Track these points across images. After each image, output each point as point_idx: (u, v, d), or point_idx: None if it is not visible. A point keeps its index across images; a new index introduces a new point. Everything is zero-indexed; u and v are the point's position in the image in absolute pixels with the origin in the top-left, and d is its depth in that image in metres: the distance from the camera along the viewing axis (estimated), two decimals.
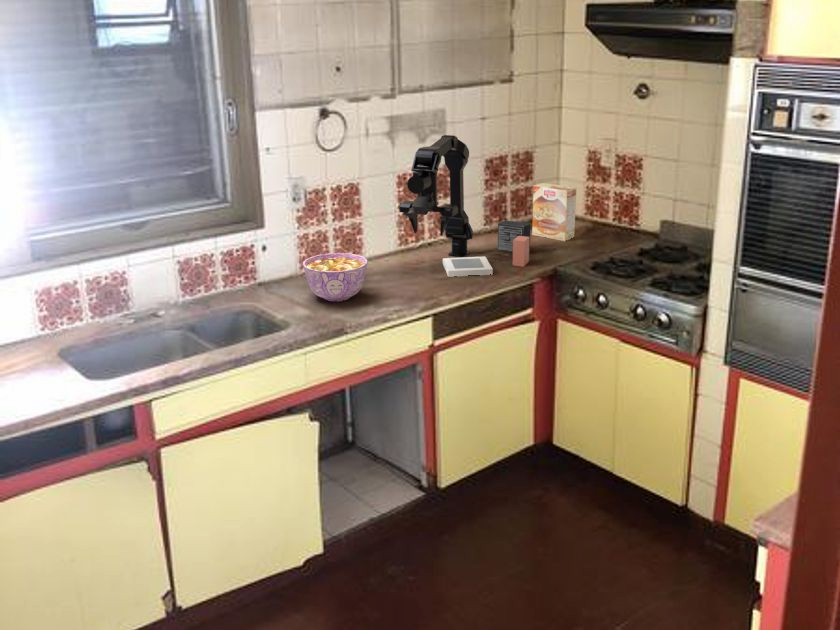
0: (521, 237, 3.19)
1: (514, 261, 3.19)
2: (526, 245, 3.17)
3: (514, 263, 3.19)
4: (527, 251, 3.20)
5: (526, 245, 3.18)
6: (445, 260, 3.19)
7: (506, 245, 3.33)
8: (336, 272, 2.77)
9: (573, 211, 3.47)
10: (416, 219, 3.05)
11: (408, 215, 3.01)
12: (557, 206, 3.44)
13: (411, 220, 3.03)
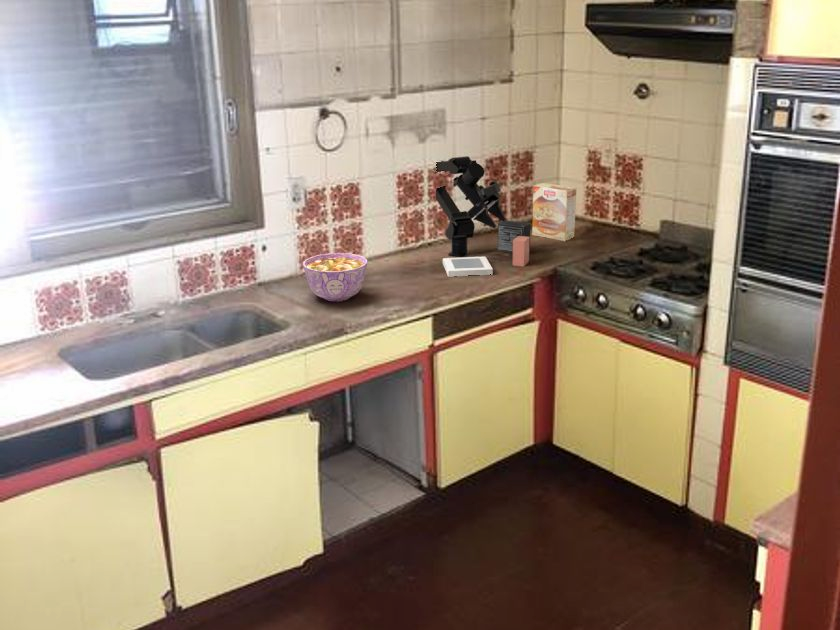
0: (521, 237, 3.19)
1: (514, 261, 3.19)
2: (526, 245, 3.17)
3: (514, 263, 3.19)
4: (527, 251, 3.20)
5: (526, 245, 3.18)
6: (445, 260, 3.19)
7: (506, 245, 3.33)
8: (336, 272, 2.77)
9: (573, 211, 3.47)
10: None
11: (486, 209, 3.13)
12: (557, 206, 3.44)
13: (488, 215, 3.14)
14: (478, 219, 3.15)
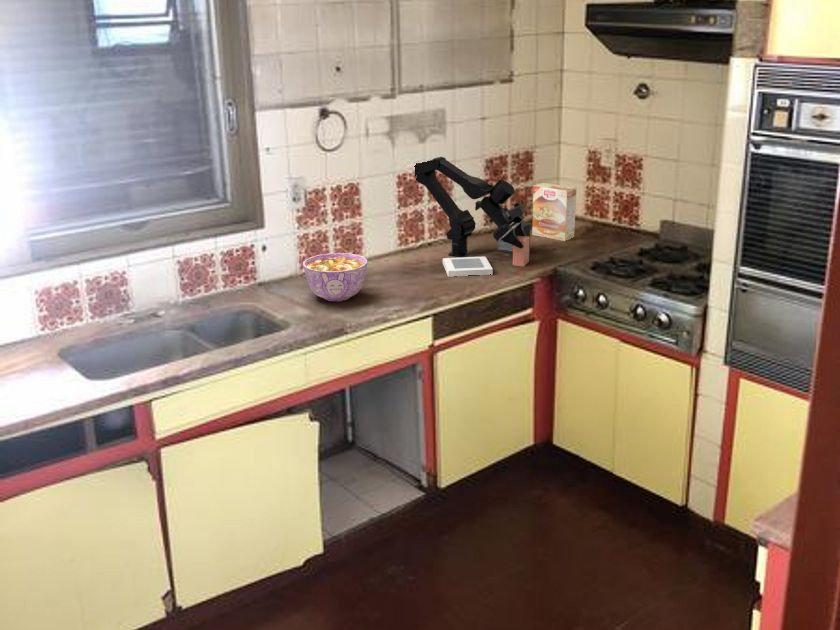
0: (521, 237, 3.19)
1: (514, 261, 3.19)
2: (526, 245, 3.17)
3: (514, 263, 3.19)
4: (527, 251, 3.20)
5: (526, 245, 3.18)
6: (445, 260, 3.19)
7: (506, 245, 3.33)
8: (336, 272, 2.77)
9: (573, 211, 3.47)
10: None
11: (514, 230, 3.13)
12: (557, 206, 3.44)
13: (515, 236, 3.14)
14: (505, 240, 3.15)
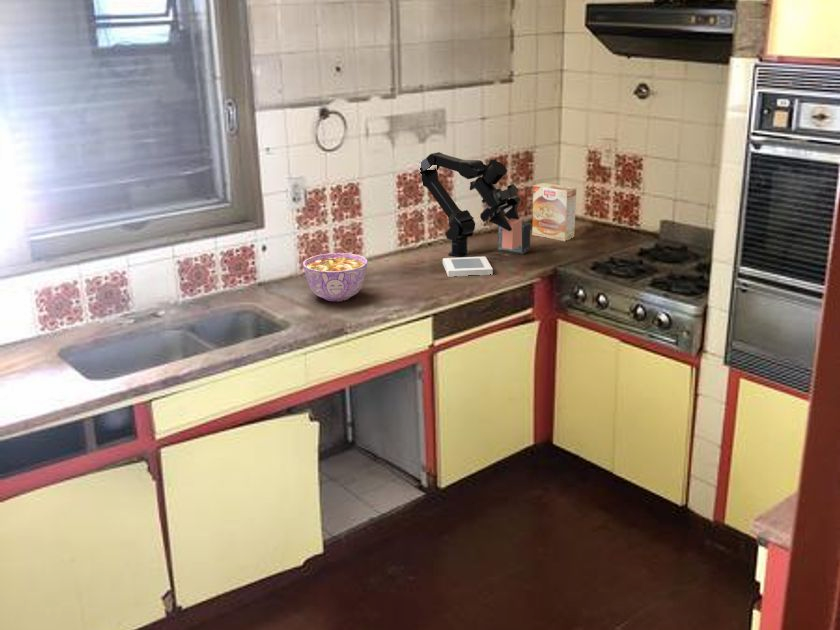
0: (513, 220, 3.14)
1: (503, 243, 3.14)
2: (516, 228, 3.12)
3: (503, 245, 3.14)
4: (518, 234, 3.14)
5: (517, 228, 3.13)
6: (445, 260, 3.19)
7: None
8: (336, 272, 2.77)
9: (573, 211, 3.47)
10: None
11: (502, 211, 3.09)
12: (557, 206, 3.44)
13: (504, 218, 3.10)
14: (494, 221, 3.11)
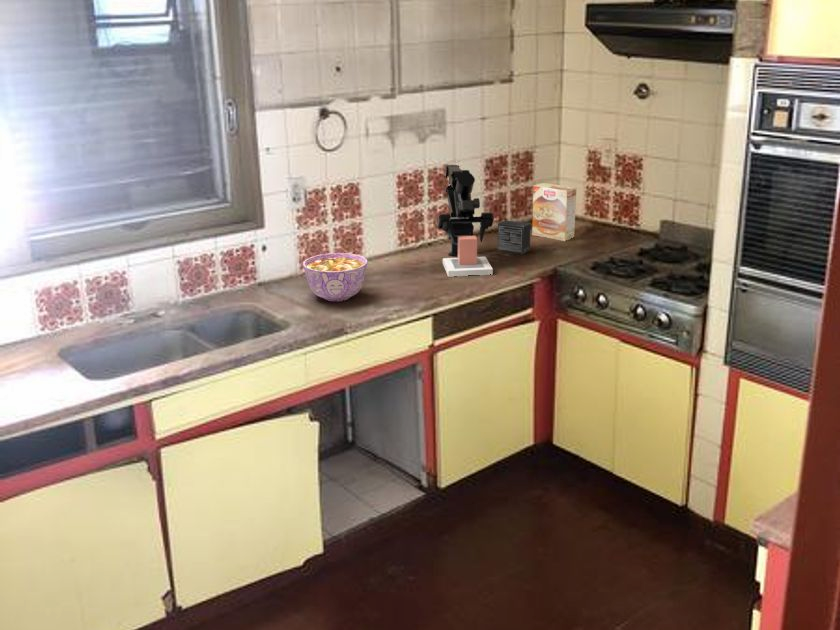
0: (470, 237, 3.12)
1: (458, 258, 3.15)
2: (466, 245, 3.10)
3: (458, 260, 3.16)
4: (471, 252, 3.12)
5: (468, 245, 3.11)
6: (445, 260, 3.19)
7: (506, 245, 3.33)
8: (336, 272, 2.77)
9: (573, 211, 3.47)
10: None
11: (449, 222, 3.11)
12: (557, 206, 3.44)
13: (451, 229, 3.11)
14: (446, 231, 3.14)
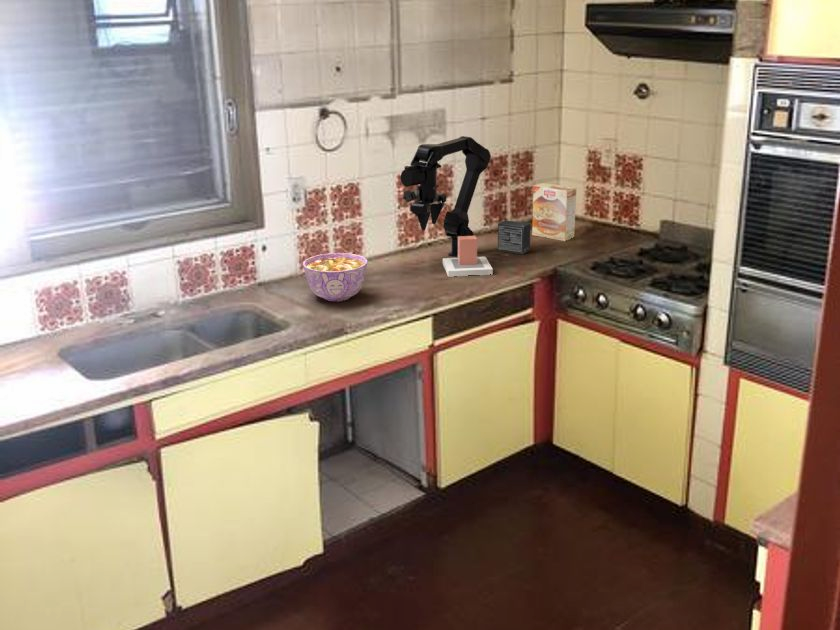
0: (470, 237, 3.12)
1: (458, 258, 3.15)
2: (466, 245, 3.10)
3: (458, 260, 3.16)
4: (471, 252, 3.12)
5: (468, 245, 3.11)
6: (445, 260, 3.19)
7: (506, 245, 3.33)
8: (336, 272, 2.77)
9: (573, 211, 3.47)
10: (436, 212, 3.21)
11: None
12: (557, 206, 3.44)
13: None
14: None
